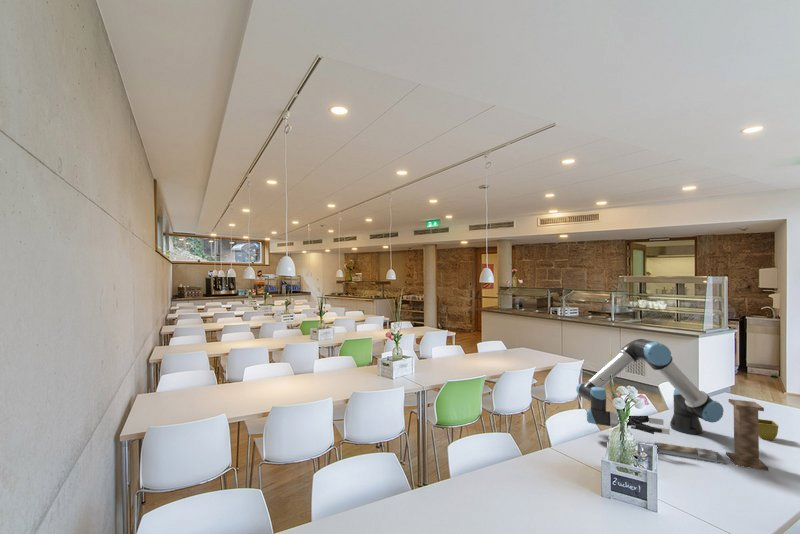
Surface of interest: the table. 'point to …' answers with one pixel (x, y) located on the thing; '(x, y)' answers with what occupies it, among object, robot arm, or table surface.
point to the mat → (691, 455)
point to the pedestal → (746, 435)
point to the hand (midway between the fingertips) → (666, 426)
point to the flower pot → (767, 429)
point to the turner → (689, 450)
